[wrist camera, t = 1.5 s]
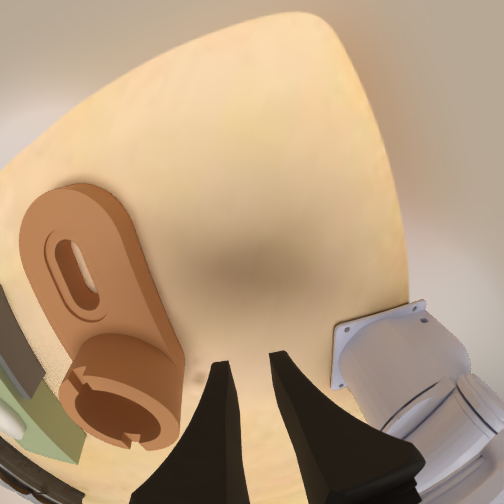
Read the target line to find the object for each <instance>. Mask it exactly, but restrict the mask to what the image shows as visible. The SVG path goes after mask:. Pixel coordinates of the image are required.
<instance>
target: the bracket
mask: <svg viewBox="0 0 504 504" xmlns="http://www.w3.org/2000/svg"><path fill="white" fill-rule="evenodd" d="M70 240H71V241H73V242H74V243H75V244H76V245H77V246H78V247H79V249H80V251H81V253H82V256H83V258H84V261H85V263H86V266H87V268H88V271H89V273H90V276H91V278H92V280H93V283H94V285H95V287H96V289H97V292H98V294H96V293H94V292H92V291H91V290H90V289H89V288H88V287H87V285H86V283H85V281H84V278H83V276H82V274H81V271H80V269H79V266H78V264H77V261H76V259H75V256H74V254H73V251H72V248H71V244H70ZM19 249H20V256H21V261H22V264H23V268H24V270H25V273H26V275H27V278H28V280H29V282H30V284H31V287H32V289H33V291H34V293H35V295H36V297H37V299H38V302H39V304H40V306H41V308H42V310H43V311H44V313H45V315H46V317H47V319H48V321H49V323H50V325H51V326H52V328H53V330H54V332H55V333H56V335H57V337H58V339H59V340H60V342H61V344H62V345H63V347H64V348H65V350H66V352H67V353H68V355H69V356H70V358H71V359H72V361H73V362H72V364H71V366H70V368H69V370H68V372H67V374H66V376H65V378H64V380H63V382H62V384H61V386H60V388H59V399H60V403H61V405H62V407H63V409H64V410H65V412H66V413H67V414H68V416H69V417H70V418H71V419H72V420H73V421H74V422H75V423H76V424H77V425H78V426H79V427H81V428H82V429H83V430H85V431H86V432H88V433H89V434H91V435H92V436H94V437H96V438H98V439H100V440H102V441H104V442H106V443H109V444H112V445H115V446H118V447H121V448H126V449H130V448H131V442H132V441H134V442H139V444H140V445H142V446H143V447H144V448H145V449H146V450H147V451H151V450H158V449H162V448H165V447H168V446H170V445H171V444H173V443H174V442H175V441H176V440H177V438H178V437H179V433H180V416H181V402H182V389H183V377H184V366H185V358H184V353H183V350H182V348H181V346H180V344H179V341H178V339H177V337H176V335H175V333H174V330H173V328H172V326H171V324H170V321H169V319H168V317H167V314H166V312H165V309H164V307H163V305H162V302H161V300H160V297H159V295H158V292H157V290H156V287H155V285H154V282H153V280H152V277H151V274H150V272H149V269H148V266H147V263H146V261H145V258H144V255H143V252H142V249H141V246H140V243H139V241H138V238H137V234H136V231H135V228H134V226H133V223H132V221H131V219H130V216H129V215H128V213H127V211H126V210H125V208H124V207H123V206H122V204H121V203H120V202H119V201H118V200H117V199H116V198H115V197H114V196H113V195H112V194H110V193H109V192H107V191H106V190H104V189H102V188H100V187H97V186H95V185H91V184H73V185H69V186H65V187H62V188H58V189H55V190H52V191H49V192H46V193H44V194H42V195H41V196H39V197H38V198H37V199H36V200H35V201H34V202H33V203H32V204H31V205H30V207H29V208H28V210H27V211H26V213H25V215H24V218H23V221H22V224H21V228H20V234H19Z"/></svg>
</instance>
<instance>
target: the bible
mask: <svg viewBox="0 0 504 504" xmlns="http://www.w3.org/2000/svg"><path fill="white" fill-rule="evenodd" d="M0 485H2V486H3V487H5V488H7V489H9V490H12V491H14V492H16V493H17V494H19V495H20V496H22V497H23V498H26V499H27V500H30V501H31V502H33V503H35V504H82V498H84V496H85V494H84V493H83V492H81V491H79V490H77V489H75V488H73V487H71V486H69V485H68V484H66V483H64V482H63V481H61V480H59V479H58V478H56V477H55V476H53V475H52V474H50V473H48V472H47V471H45V470H44V469H42V468H41V467H39V466H38V465H37V464H35V463H33V462H32V461H31V460H29V459H28V458H27V457H25V456H24V455H23V454H22V453H20V452H19V451H18V450H17V449H15V448H14V447H13V446H12V445H10V444H9V443H8V442H7V441H5V440H4V439H3V438H2V437H0Z"/></svg>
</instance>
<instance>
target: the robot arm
mask: <svg viewBox="0 0 504 504" xmlns="http://www.w3.org/2000/svg"><path fill="white" fill-rule="evenodd" d="M413 307H414V308H413ZM425 307H426V301H425V300H423V299H421V300H418V301H415V302H412V303H409V304H406V305H403V306H400V307H397V308H394V309H391V310H387V311H384V312H381V313H378V314H374V315H371V316H367V317H364V318H360V319H357V320H353V321H349V322H346V323H342V324H339V325H337V326H336V327H335V330H334V346H333V361H332V374H331V389H332V390H338V389H341V388H345V387H348V388H349V390H350V392H351V393H352V395H353V397H354V399H355V401H356V403H357V404H358V406H359V408H360V410H361V412H362V414H363V416H364V418H365V419H366V421H367V423H368V424H366V423H364V422H362V421H361V420H359V419H357V418H355V417H354V416H352V415H351V414H349V413H348V412H346V411H345V410H343V409H342V408H340V407H339V406H338V405H336V404H335V403H334V402H333V401H331V400H330V399H329V398H328V397H327V396H325V395H324V394H323V393H322V392H321V391H320V390H319V389H318V388H317V387H316V386H315V385H314V384H313V383H312V382H311V381H310V380H309V379H308V378H307V377H306V376H305V375H304V374H303V373H302V372H301V371H300V369H299V368H298V367H297V366H296V365H295V363H294V362H293V361H292V359H291V358H290V357H289V355H288V354H287V352H286V351H284V350H283V351H278V352H273V353H269V358H270V365H271V373H272V381H273V387H274V391H275V396H276V400H277V404H278V407H279V410H280V413H281V415H282V418H283V421H284V423H285V426H286V429H287V431H288V434H289V437H290V439H291V442H292V444H293V447H294V450H295V453H296V456H297V460H298V464H299V468H300V472H301V475H302V479H303V483H304V487H305V491H306V495H307V499H308V503H309V504H504V402H503V401H502V400H501V399H500V398H499V396H498V395H497V394H496V393H495V392H494V391H493V390H492V389H491V388H490V387H489V386H488V385H487V384H486V383H485V382H484V381H482V380H481V379H480V378H479V377H477V376H476V375H475V374H471V363H470V359H469V356H468V353H467V351H466V349H465V347H464V346H463V344H462V343H461V342H460V341H459V340H458V339H457V338H456V337H455V336H454V335H453V334H452V333H450V331H448V330H447V329H446V328H445V327H444V326H443V325H442V324H441V323H439V322H438V321H437V320H436V319H435V318H434V317H433V316H432V315H430V314H429V313H428V312H427V311H426V310H425ZM347 327H348V328H347ZM345 328H347V329H345ZM129 504H250V501H249V496H248V491H247V485H246V480H245V474H244V468H243V461H242V447H241V425H240V410H239V403H238V397H237V391H236V388H235V384H234V380H233V376H232V373H231V369H230V365H229V361H221V362H214V363H213V364H212V365H211V370H210V373H209V377H208V380H207V383H206V386H205V389H204V392H203V394H202V397H201V399H200V402H199V404H198V407H197V409H196V411H195V413H194V415H193V417H192V419H191V421H190V423H189V425H188V427H187V429H186V430H185V432H184V434H183V435H182V437H181V439H180V440H179V442H178V443H177V444H176V446H175V447H174V449H173V450H172V452H171V453H170V454H169V456H168V457H167V458H166V460H165V461H164V462H163V463H162V464H161V465H160V466H159V468H158V469H157V470H156V471H155V472H154V473H153V474H152V475H151V476H150V477H149V478H148V479H147V480H146V481H145V482H144V483H143V484H142V485H141V486H140V487H139V488H138V489H136V490H135V491H134V492H133V493H132V495H131V498H130V502H129Z"/></svg>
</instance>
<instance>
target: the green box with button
mask: <svg viewBox="0 0 504 504" xmlns="http://www.w3.org/2000/svg"><path fill="white" fill-rule="evenodd" d="M44 375H45V371H44V369H43V368H42V366H41V365H40V363H39V361H38V360H37V358H36V356H35V355H34V353H33V351H32V350H31V348H30V346H29V344H28V342H27V341H26V339H25V337H24V335H23V333H22V331H21V329H20V327H19V325H18V323H17V321H16V319H15V317H14V315H13V313H12V311H11V308H10V306H9V304H8V302H7V299H6V297H5V294H4V292H3V290H2V287H1V284H0V430H1V431H3V432H4V433H5V434H7V435H9V436H10V437H12V438H13V439H14V440H15V441H16V442H17V443H18V444H19V445H20V446H21V447H22V448H24V449H25V450H27V451H29V452H32V453H35V454H39V455H42V456H45V457H48V458H52V459H55V460H59V461H63V462H67V463H71V464H76V465H78V463H79V459H80V455H81V452H82V448H83V445H84V441H85V438H86V434H85V432H84V431H83V430H82V429H81V428H80V427H79V426H78V425H77V424H76V423H75V422H74V421H73V420H72V419H71V418H70V417H69V416H68V414H67V413H66V412H65V410H64V409H63V407H62V405H61V404H60V402H59V401H58V400H57V398H56V397H55V396H54V394H53V393H52V392H51V390H50V389H49V387H48V386H47V385H46V383H45V382H44V380H43V377H44Z"/></svg>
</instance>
